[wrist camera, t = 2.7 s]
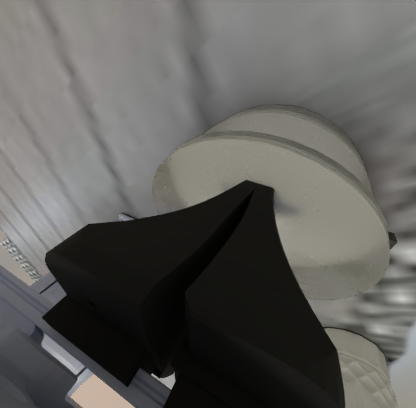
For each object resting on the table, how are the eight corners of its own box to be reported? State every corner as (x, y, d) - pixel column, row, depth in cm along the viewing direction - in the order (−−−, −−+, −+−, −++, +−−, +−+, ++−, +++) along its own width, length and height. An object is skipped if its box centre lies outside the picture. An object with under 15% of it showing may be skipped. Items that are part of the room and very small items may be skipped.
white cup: (321, 313, 21) (318, 447, 14) (412, 354, 19) (465, 542, 11) (295, 340, 26) (283, 451, 19) (365, 376, 24) (381, 518, 16)
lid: (318, 305, 16) (314, 333, 15) (176, 241, 20) (164, 259, 19) (500, 185, 6) (536, 245, 5) (137, 104, 10) (104, 125, 9)
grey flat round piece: (326, 290, 19) (325, 322, 17) (182, 229, 24) (166, 247, 22) (455, 134, 10) (494, 156, 8) (182, 87, 15) (155, 92, 13)
